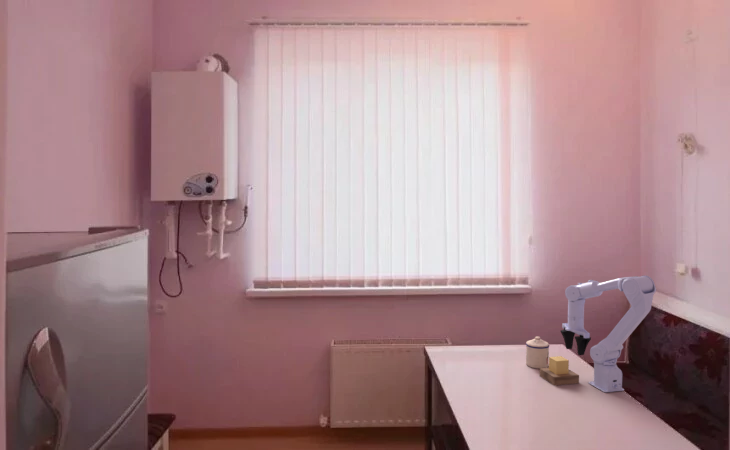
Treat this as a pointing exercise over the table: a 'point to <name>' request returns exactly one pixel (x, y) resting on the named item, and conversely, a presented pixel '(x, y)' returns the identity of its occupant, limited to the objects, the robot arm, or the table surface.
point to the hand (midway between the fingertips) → (574, 351)
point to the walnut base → (559, 377)
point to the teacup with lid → (537, 353)
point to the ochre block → (558, 365)
